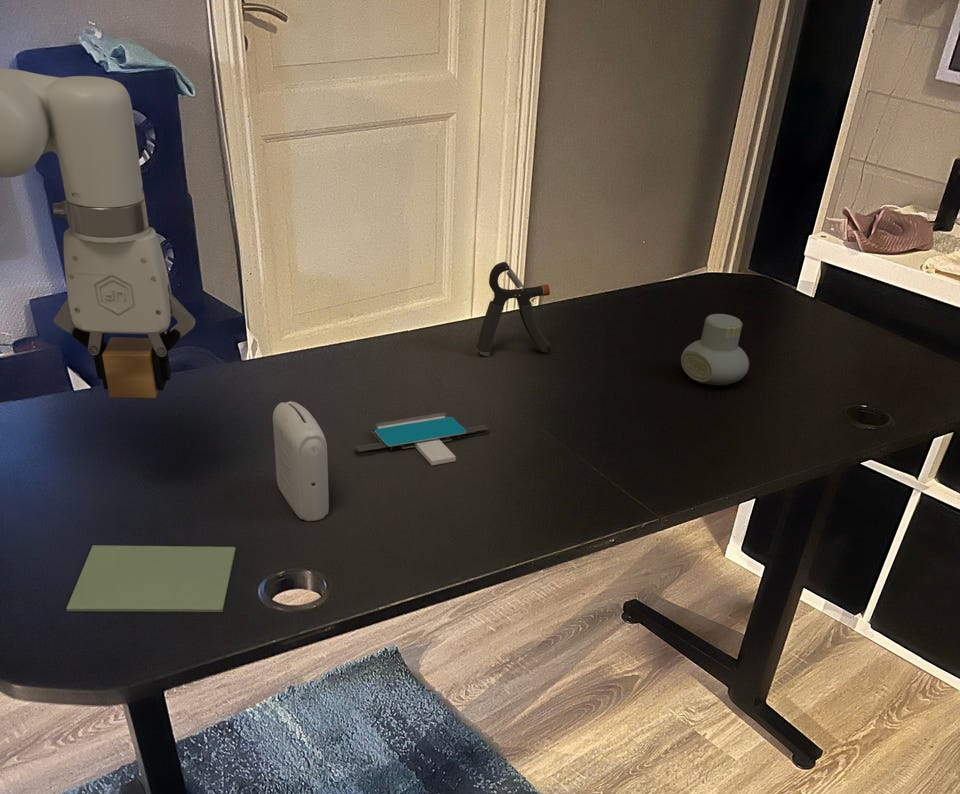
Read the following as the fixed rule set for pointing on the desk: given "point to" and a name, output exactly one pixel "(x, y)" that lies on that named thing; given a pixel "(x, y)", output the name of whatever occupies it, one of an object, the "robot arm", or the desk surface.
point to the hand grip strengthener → (499, 302)
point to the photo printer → (301, 461)
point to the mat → (153, 579)
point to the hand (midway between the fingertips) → (135, 383)
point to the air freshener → (717, 352)
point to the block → (130, 368)
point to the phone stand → (420, 436)
